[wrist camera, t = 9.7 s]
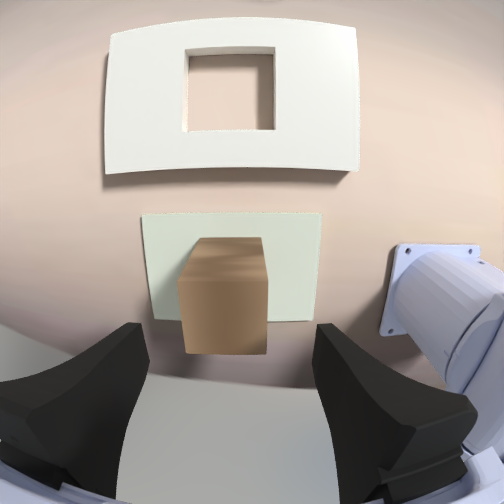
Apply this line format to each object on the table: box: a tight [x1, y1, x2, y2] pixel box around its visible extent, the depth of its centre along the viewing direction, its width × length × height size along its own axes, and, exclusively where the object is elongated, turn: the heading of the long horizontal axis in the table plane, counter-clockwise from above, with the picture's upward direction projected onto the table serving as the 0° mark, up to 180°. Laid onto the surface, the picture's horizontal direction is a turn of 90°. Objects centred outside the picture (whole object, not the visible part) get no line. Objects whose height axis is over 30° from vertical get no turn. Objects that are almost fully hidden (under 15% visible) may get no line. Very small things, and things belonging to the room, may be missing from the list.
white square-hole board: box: [104, 17, 360, 174], centre depth 16 cm, size 16×10×2 cm, turn 90°
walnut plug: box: [177, 237, 268, 355], centre depth 17 cm, size 4×4×7 cm
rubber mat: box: [141, 212, 322, 321], centre depth 20 cm, size 12×8×1 cm, turn 90°
